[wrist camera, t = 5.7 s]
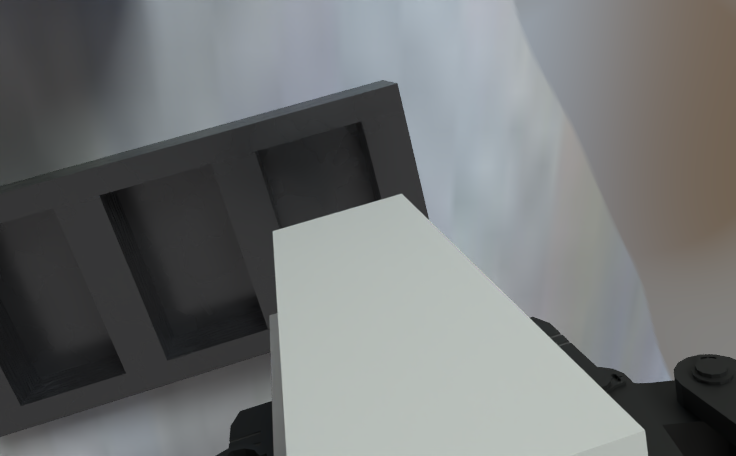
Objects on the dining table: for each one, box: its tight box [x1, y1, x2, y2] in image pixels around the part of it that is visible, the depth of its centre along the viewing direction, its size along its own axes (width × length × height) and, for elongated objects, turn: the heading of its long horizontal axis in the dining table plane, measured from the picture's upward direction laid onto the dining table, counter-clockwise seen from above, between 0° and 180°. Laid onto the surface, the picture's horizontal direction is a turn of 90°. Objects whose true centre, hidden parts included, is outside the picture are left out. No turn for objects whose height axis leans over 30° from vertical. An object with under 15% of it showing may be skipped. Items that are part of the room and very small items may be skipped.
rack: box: [0, 80, 429, 437], centre depth 29 cm, size 11×23×4 cm, turn 104°
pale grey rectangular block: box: [273, 194, 648, 456], centre depth 13 cm, size 7×4×12 cm, turn 14°
